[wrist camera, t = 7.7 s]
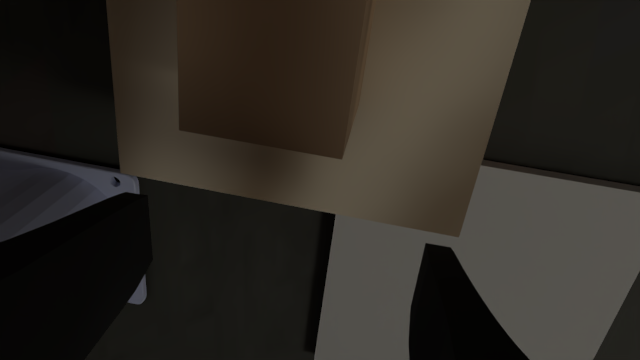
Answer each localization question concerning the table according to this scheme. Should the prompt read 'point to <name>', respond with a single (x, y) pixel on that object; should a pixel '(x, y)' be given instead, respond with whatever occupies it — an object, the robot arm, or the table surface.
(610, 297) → the mat
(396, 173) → the lid
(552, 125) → the table surface
